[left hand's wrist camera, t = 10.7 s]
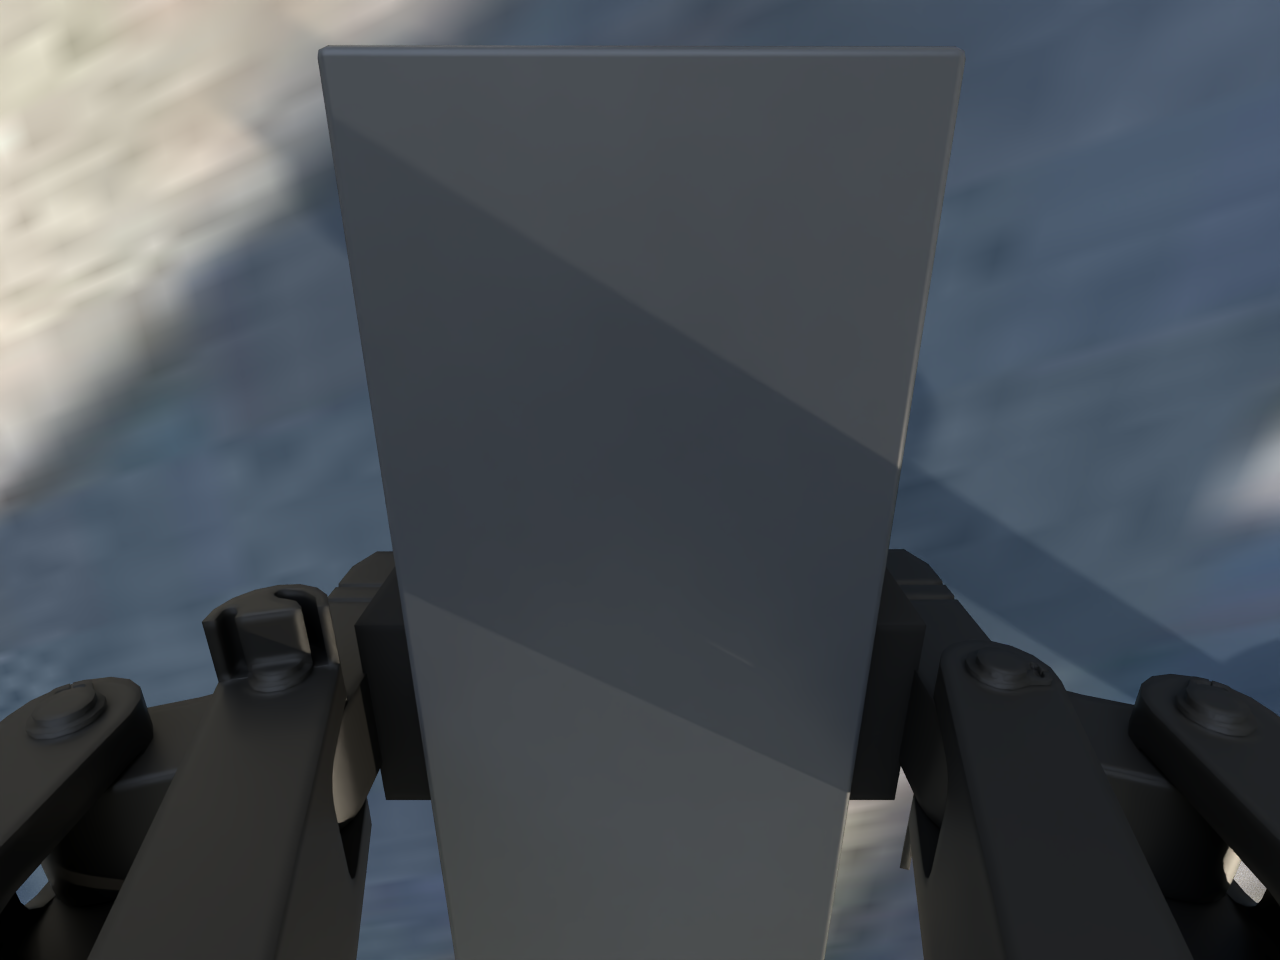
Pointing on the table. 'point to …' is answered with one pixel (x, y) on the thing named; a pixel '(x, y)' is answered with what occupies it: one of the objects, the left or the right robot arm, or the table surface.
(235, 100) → the table surface
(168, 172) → the table surface
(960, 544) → the table surface
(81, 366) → the table surface
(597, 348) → the bar
